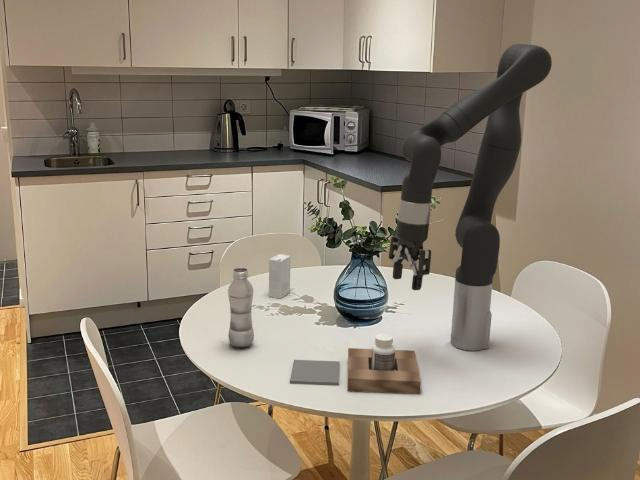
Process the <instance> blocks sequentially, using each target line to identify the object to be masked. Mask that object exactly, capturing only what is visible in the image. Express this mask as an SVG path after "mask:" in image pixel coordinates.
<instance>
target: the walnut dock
mask: <svg viewBox="0 0 640 480" xmlns="http://www.w3.org/2000/svg"><path fill="white" fill-rule="evenodd" d="M347 349H348V351H347V392H365V393H367V392H368V393H391V394H393V393H394V394H418V395H419V394H421V386H422V385H421V384H422V383H421V382H422V380H421V375H420V369H419V365H418V360H417V355H416V351H415V350H410V349H409V350H406V349H405V350H404V349H395V365H394V371H387V370H371V356H372V348H359V347H358V348H355V347H353V348H352V347H351V348H350V347H347Z"/></svg>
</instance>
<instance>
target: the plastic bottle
mask: <svg viewBox="0 0 640 480" xmlns="http://www.w3.org/2000/svg"><path fill="white" fill-rule="evenodd" d="M232 278H233V280H232V281H231V283H230V285H228V289H227V296H228V302H229V310H230V312H229V313H230V314H229V315H230V321H229V329H228V342H229V343H230V345H231V346H232V347H235V348H248V347H249V346H251V345H252V344H253V342H254V338H255V332H254V327H253V320H252V319H253V317H252V311H253V310H252V305H253V298H254V287H253V284H251V282H250V281H249V279H248V278H249V270H248V268H245V267H237V268H233V271H232Z"/></svg>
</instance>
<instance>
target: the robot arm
mask: <svg viewBox="0 0 640 480" xmlns="http://www.w3.org/2000/svg"><path fill="white" fill-rule="evenodd" d="M552 64H553V61H552V57H551V54H550V52H549V51H548V50H547V48H544V47H542V46H539V45H535V44H526V43H515V44H511V45H510V46H508V47H507V48H506V49H505V50H504V51H503V53H502V55H501V57H500V60H499V63H498V66H497V72H496V79H494V80H493V81H492V82H489V84H487V85H485V86H483V87H481V88H478V89H477V90H475V91H473V92H470V93H469V94H467V95H465V96H464V97H462V98H461V99H458V101H456V102H455V103H453V104H452V105H451V106H449V107H448V108H447V109H446V110H445V111H443V112H442V113H441V114H440V115H439V116H438V117H435V119H434V120H433V119H432V120H431V121H429V122H428V123H425V124H424V125H423V126H420V127H419V128H417V129H416V130H414V131H413V132H411V133H410V134H409V135H408V136H407V137H406V139H405V140H404V142H403V144H402V148H401V151H402V155H403V157H404V158H405V159H406V160H407V161H408V162H410V164H411V165H410V170H409V174H407V175H406V176H405V177H403V178H404V179H403V180H402V185H401V186H402V187H401V196H400V202H399V206H398V212H397V222H396V232H395V235H393V236H391V238H390V245H389V253H388V259H389V260H391V261H392V264H393V269H392V279H394V280H401V279H402V277H403V267H404V262H405V261H406V262H408V265H409V266H410V268H412V273H413V275H412V282H411V290H413V291H420V290H421V289H422V285H423V277H424V276H429V275H430V274H431V273H430V271H431V260H432V250H431V249H424V243H425V242H426V241H427V240H428V236H429V230H430V229H429V228H430V221H431V220H430V219H431V211H432V210H431V205H432V204H431V203H432V195H433V184H434V181H435V180H436V176H437V174H438V171H439V168H440V165H441V160H442V149H441V148H442V147H443V146H444V145H445V144H451V143H455V142H457V141H458V140H459V139H461V138H462V137H464V135H466V134H467V133H468V132H469V131H471V130H472V129H473V128H474V127H476V126H477V125H478V124H479V123H481V122H482V121H484V119H486V118H487V120H486V121H487V122H486V126H485V129H484V131H483V132H484V133H483V136H482V138H481V139H482V140H481V143H480V145H479V149H478V153H477V157H476V163H475V165H474V170H473V175H472V177H471V178H472V179H471V183H470V187H469V191H468V195H467V198H466V201H465V203H464V206H463V208H462V211H461V213H460V216H459V218H458V220H457V221H458V222H457V224H456V227H455V232H454V233H455V240H456V242H457V244H458V245H459V247H461V248H462V249H461V260H460V265H459V266H457V268H456V269H455V276H454V277H455V278H454V289H453V291H454V292H453V306H452V315H451V316H452V317H451V330H450V331H451V332H450V344H451V345H452V346H453V347H455V348H458V349H460V350H464V351H481V350H484V349H486V350H487V349H489V348H490V336H491V326H492V314H493V313H492V312H491V303H492V293H493V281H494V276H495V275H496V272H497V268H498V262H499V254H500V247H501V246H500V244H501V237H500V236H501V235H500V232H499V230H498V228H497V227H496V226H495V225H494V224H493V223H492V219H493V218H492V217H493V214H494V209H495V205H496V202H497V200H498V197H499V195H500V193H501V192H502V190H503V189H504V187H505V186H506V184H507V183H508V182H509V179H510V178H511V176H512V175H513V173H514V171H515V168H516V164H517V160H518V157H519V155H520V151H521V146H522V128H521V119H520V118H521V117H520V108H521V103H522V97H523V95H524V93H525V92H527V91H529V90H531V89H532V88H534V87H536V86H537V85H539V84H540V83H542V82H543V81H544V80H546V78H547V77H548V75H549V74H550V72H551V70H552ZM394 251H395V253H394ZM417 267H418V268H417Z"/></svg>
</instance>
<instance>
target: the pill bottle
mask: <svg viewBox="0 0 640 480" xmlns="http://www.w3.org/2000/svg"><path fill="white" fill-rule="evenodd" d="M393 343H394V336H392V335H391V334H390V333H389V334H387V333H379V334H376V335H375V339H374V344H373V345H372V346H371V349H372V356H371V369H370V370H387V371H395V370H394V365H395V350H396V347H395V345H393Z"/></svg>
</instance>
